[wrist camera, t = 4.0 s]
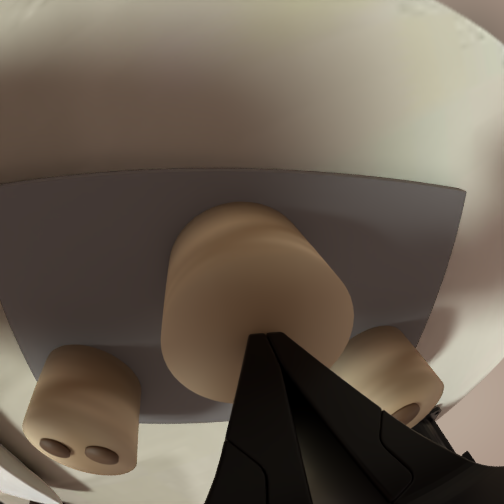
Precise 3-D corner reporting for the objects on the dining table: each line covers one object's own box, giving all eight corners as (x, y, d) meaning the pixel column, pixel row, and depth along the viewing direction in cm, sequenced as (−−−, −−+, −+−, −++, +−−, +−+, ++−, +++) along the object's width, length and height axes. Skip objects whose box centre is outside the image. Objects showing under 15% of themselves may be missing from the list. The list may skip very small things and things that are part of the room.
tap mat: (458, 188, 12) (466, 191, 11) (390, 383, 17) (394, 389, 17) (-19, 187, 8) (-27, 191, 8) (59, 408, 14) (57, 415, 13)
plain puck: (313, 202, 10) (373, 250, 7) (296, 320, 12) (331, 391, 9) (165, 202, 9) (148, 257, 6) (174, 327, 12) (173, 408, 8)
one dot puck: (416, 319, 14) (461, 370, 10) (387, 382, 16) (419, 432, 13) (334, 332, 13) (375, 400, 10) (314, 399, 15) (340, 459, 12)
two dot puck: (130, 345, 12) (117, 428, 8) (149, 413, 14) (148, 482, 10) (31, 341, 11) (0, 409, 7) (65, 407, 13) (51, 469, 9)
